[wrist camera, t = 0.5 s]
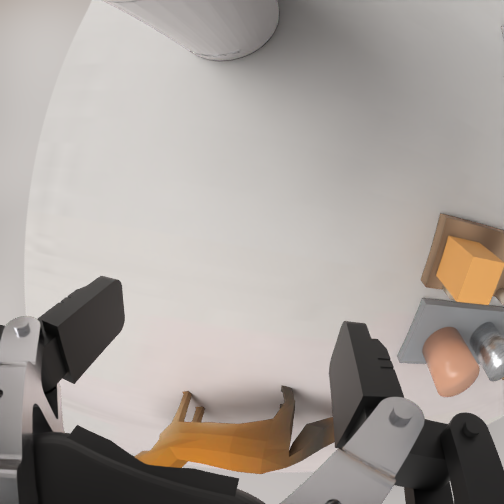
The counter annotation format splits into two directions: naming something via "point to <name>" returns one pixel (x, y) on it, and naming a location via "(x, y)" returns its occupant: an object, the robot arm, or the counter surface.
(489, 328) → the metal canister
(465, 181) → the counter surface
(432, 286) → the rail
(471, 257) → the orange block
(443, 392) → the salmon domed cylinder
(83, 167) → the counter surface
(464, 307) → the slate tray
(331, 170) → the counter surface
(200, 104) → the counter surface
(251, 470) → the toy
